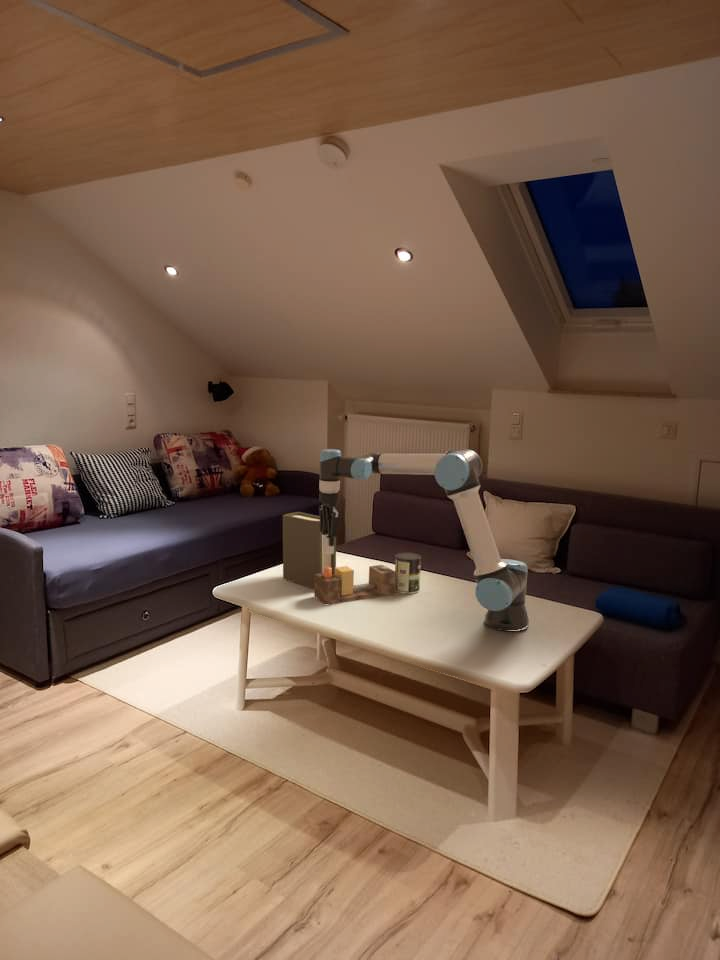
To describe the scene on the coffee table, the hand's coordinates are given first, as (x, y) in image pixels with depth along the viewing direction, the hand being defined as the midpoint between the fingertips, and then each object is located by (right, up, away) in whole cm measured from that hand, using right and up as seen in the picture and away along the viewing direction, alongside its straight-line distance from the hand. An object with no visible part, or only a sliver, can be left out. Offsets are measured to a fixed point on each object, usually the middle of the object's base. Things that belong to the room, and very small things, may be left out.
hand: (328, 552), depth 266 cm
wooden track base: (+10, -17, +9) cm, 22 cm away
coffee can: (+31, -17, +17) cm, 39 cm away
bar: (+10, -16, +9) cm, 21 cm away
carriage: (+6, -16, +6) cm, 18 cm away
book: (-9, -15, +23) cm, 28 cm away
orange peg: (0, -12, +2) cm, 12 cm away
